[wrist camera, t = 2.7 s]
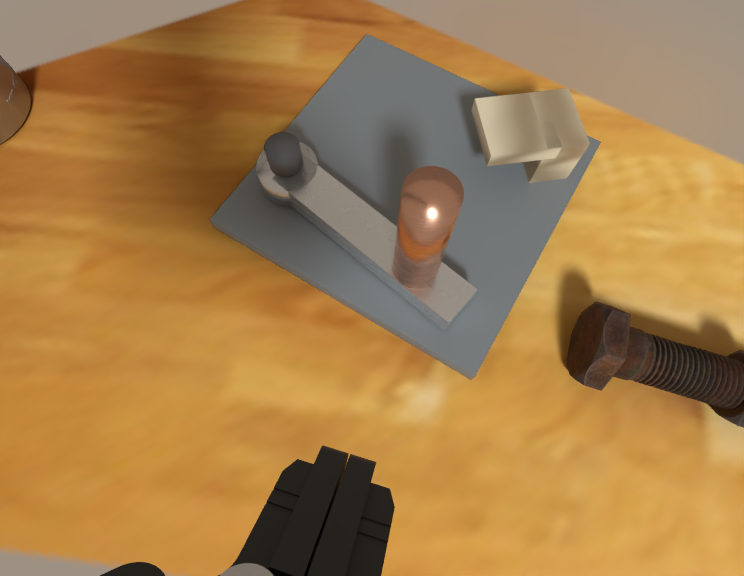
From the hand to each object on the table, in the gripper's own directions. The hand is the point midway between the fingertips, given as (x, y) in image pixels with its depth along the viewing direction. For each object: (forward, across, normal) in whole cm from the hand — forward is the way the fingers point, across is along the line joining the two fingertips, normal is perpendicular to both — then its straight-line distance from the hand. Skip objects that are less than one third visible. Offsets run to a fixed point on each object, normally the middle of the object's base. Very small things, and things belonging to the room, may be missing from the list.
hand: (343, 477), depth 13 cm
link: (+23, +5, +1) cm, 23 cm away
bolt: (+22, -19, +5) cm, 29 cm away
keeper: (+30, -5, -6) cm, 31 cm away
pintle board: (+28, +2, -2) cm, 28 cm away
